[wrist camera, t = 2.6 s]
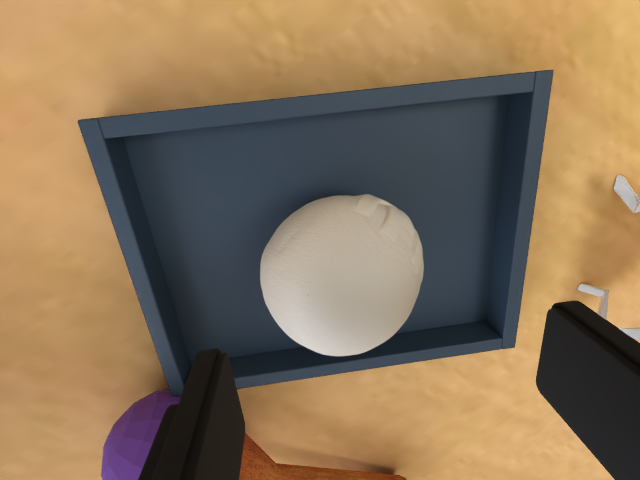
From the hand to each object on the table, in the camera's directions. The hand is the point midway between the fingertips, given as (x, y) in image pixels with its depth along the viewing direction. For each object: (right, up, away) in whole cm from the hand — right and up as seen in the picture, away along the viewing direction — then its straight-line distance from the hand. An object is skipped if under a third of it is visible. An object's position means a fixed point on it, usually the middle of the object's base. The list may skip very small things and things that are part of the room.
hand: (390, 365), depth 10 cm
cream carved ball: (-1, +4, +9) cm, 10 cm away
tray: (-1, +4, +9) cm, 10 cm away
